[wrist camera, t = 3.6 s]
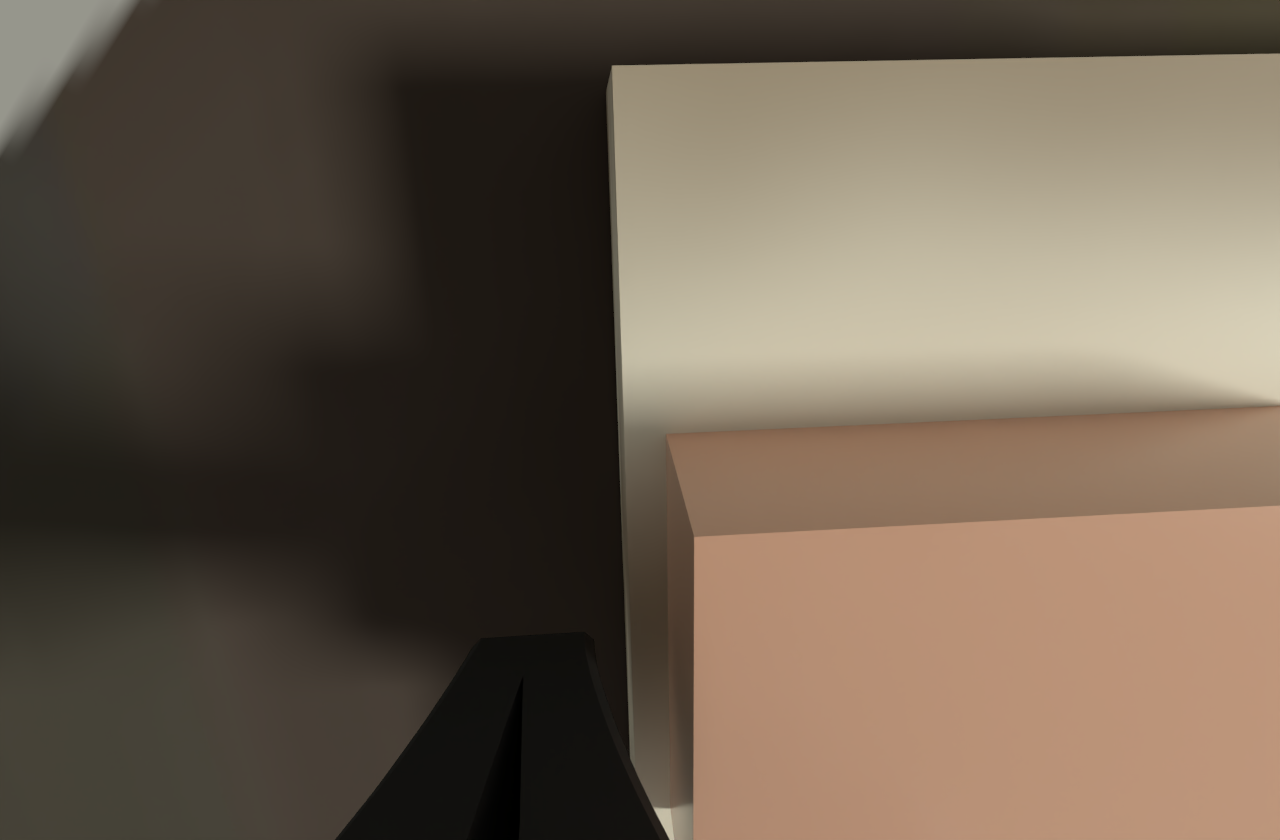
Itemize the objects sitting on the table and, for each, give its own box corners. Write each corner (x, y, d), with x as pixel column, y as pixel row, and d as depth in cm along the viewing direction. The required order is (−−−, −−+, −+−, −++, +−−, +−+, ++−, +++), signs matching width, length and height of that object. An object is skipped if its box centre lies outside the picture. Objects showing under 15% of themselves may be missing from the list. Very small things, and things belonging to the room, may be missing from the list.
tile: (1183, 771, 11) (1342, 935, 9) (669, 808, 11) (693, 991, 8) (1296, 404, 9) (1545, 491, 7) (665, 434, 9) (693, 537, 6)
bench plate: (1052, 800, 15) (1155, 944, 12) (632, 831, 15) (642, 989, 12) (1218, 80, 10) (1450, 49, 8) (605, 92, 10) (612, 64, 7)
